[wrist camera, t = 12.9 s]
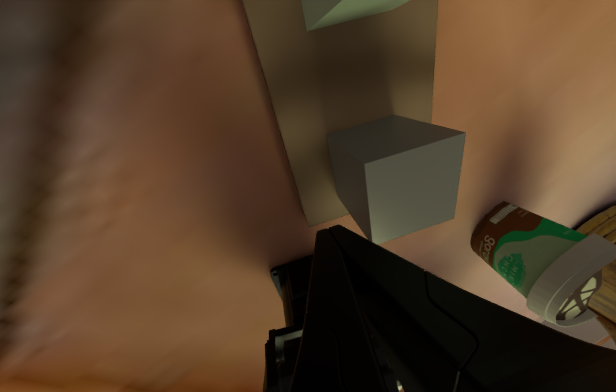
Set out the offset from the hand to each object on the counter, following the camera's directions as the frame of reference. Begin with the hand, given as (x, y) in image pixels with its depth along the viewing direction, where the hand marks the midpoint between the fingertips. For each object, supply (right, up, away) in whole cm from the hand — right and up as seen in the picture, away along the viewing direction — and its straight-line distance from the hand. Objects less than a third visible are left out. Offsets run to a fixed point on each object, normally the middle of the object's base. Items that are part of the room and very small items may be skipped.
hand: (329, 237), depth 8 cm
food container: (+23, -4, +21) cm, 31 cm away
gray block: (+4, +5, +10) cm, 12 cm away
